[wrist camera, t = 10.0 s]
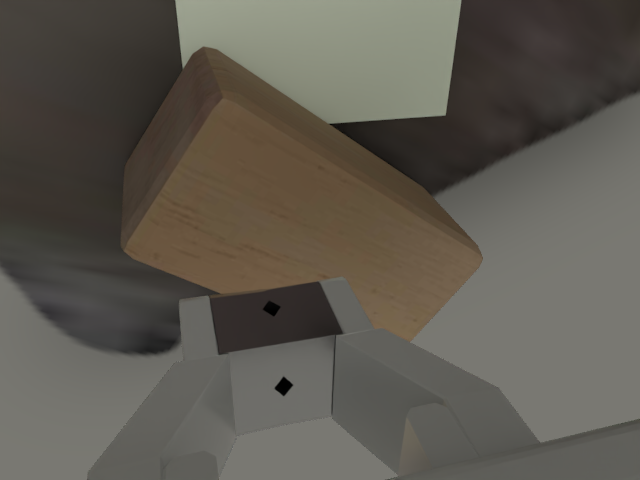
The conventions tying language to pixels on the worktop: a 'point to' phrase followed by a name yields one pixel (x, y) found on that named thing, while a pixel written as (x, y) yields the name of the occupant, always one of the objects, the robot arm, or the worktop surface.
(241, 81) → the wooden block
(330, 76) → the mat
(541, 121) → the worktop surface
